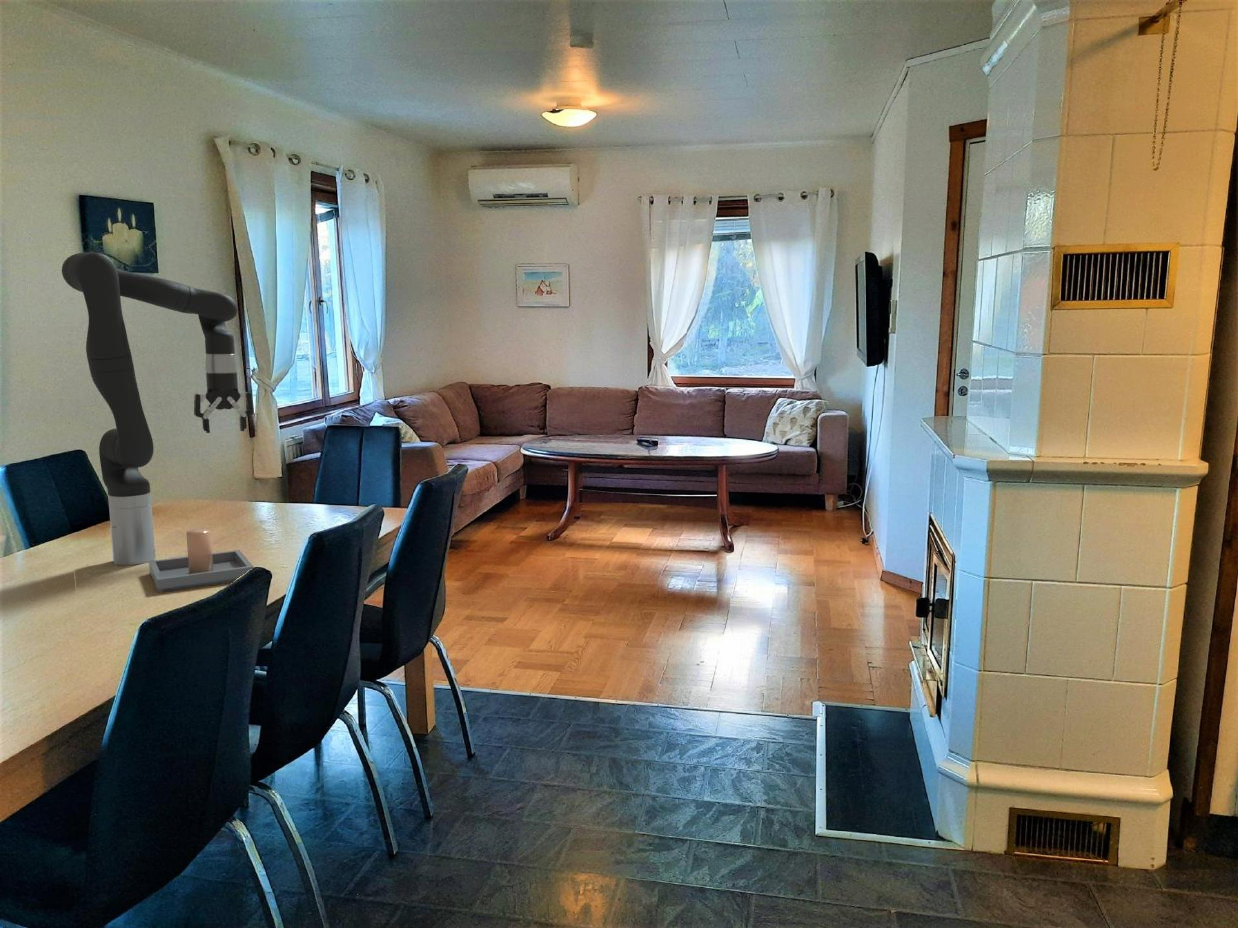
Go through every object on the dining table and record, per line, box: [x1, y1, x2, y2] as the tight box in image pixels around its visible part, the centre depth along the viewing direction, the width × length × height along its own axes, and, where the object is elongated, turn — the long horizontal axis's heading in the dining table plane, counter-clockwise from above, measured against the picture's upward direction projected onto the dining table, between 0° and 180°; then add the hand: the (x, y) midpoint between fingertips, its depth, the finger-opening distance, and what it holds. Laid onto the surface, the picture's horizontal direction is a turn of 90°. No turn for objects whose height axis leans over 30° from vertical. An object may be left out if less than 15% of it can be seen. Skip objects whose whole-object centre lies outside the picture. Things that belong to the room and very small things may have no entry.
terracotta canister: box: [186, 528, 213, 574], centre depth 205 cm, size 5×5×10 cm
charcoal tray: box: [148, 549, 255, 594], centre depth 206 cm, size 20×18×3 cm
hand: (225, 431), depth 234 cm, fingers open, 8 cm apart
